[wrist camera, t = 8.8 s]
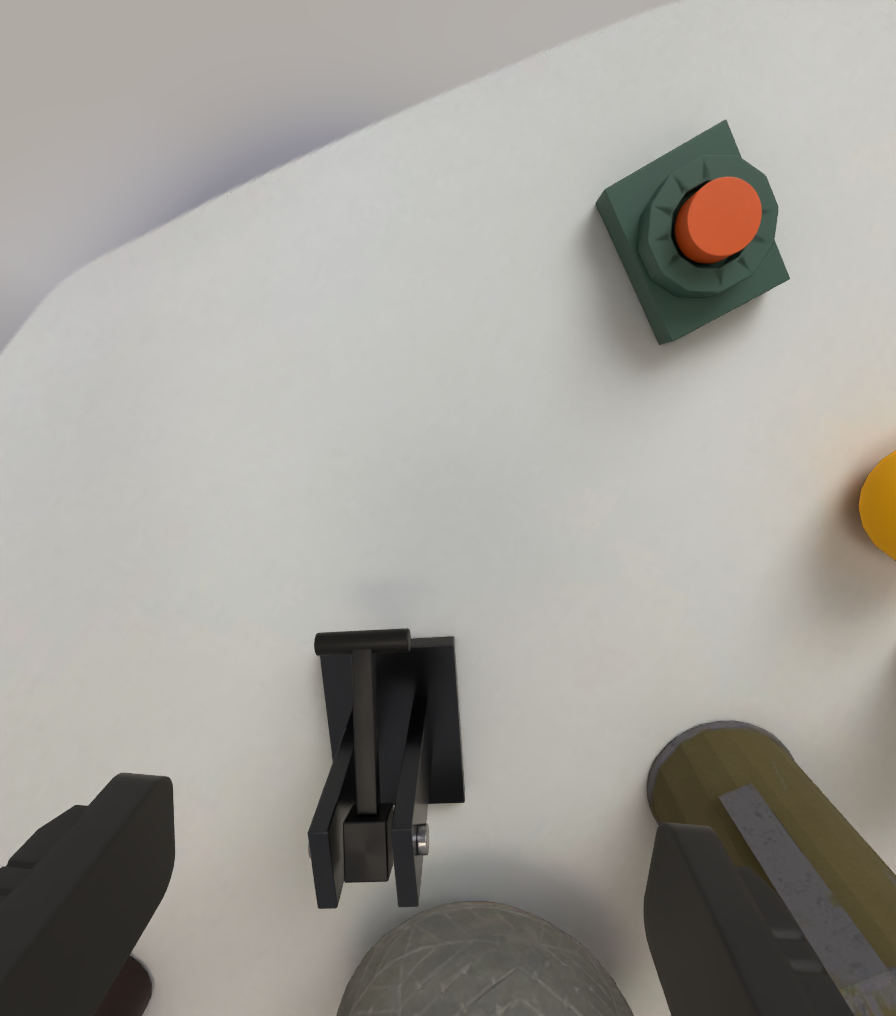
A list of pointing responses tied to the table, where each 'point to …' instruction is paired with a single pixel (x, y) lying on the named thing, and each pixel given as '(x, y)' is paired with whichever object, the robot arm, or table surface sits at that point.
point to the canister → (788, 849)
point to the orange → (880, 505)
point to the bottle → (127, 992)
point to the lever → (366, 753)
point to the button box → (652, 244)
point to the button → (718, 220)
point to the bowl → (480, 968)
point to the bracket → (391, 759)
